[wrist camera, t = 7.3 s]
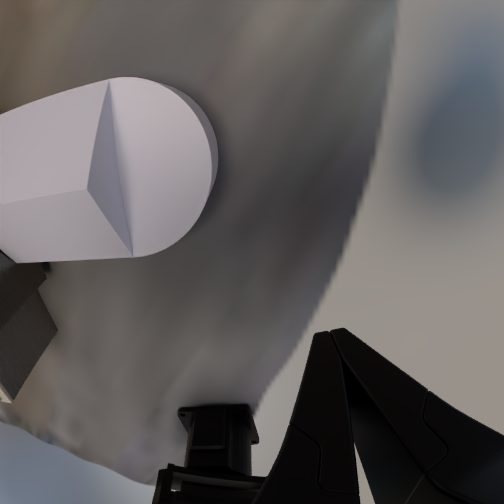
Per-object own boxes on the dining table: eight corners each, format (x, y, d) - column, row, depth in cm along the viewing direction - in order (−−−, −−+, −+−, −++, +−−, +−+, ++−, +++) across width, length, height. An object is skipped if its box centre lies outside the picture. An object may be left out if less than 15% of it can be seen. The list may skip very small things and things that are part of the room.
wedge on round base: (42, 241, 19) (224, 228, 19) (-14, 290, 13) (213, 289, 13) (19, 114, 15) (213, 71, 15) (-53, 129, 9) (192, 49, 9)
